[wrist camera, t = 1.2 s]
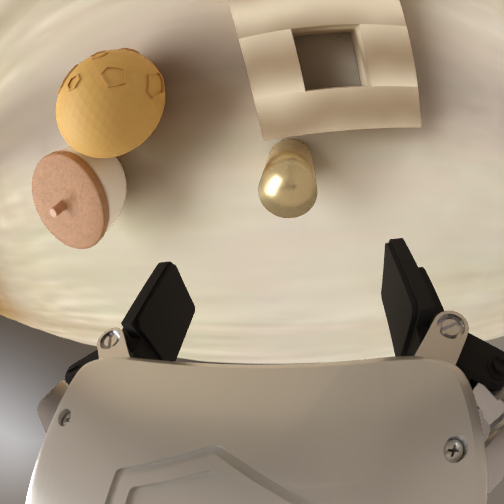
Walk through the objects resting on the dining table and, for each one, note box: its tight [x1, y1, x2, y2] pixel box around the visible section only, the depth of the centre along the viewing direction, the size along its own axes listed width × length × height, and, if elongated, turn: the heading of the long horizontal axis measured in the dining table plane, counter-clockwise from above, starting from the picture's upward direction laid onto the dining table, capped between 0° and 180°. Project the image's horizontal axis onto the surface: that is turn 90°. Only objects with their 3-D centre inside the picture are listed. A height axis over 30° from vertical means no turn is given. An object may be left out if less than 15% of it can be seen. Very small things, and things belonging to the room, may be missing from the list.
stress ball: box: [56, 48, 165, 158], centre depth 18 cm, size 10×10×10 cm
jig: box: [228, 0, 421, 141], centre depth 14 cm, size 20×13×7 cm, turn 13°
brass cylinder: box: [258, 139, 317, 218], centre depth 22 cm, size 4×4×8 cm
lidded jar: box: [32, 146, 127, 249], centre depth 25 cm, size 11×11×9 cm
